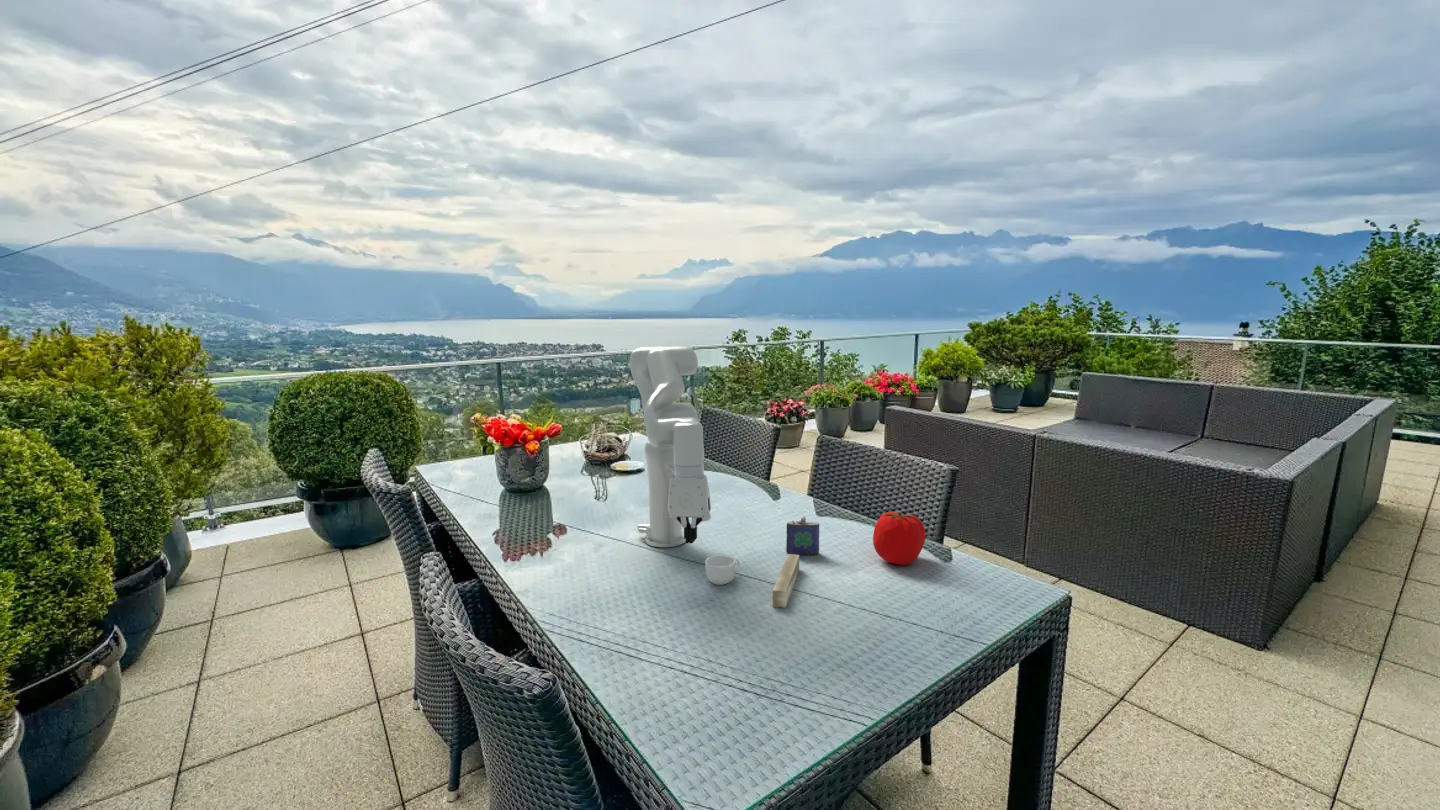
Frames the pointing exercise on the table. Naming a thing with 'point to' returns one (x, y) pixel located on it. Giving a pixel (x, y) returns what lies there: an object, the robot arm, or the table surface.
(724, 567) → the teacup
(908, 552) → the tomato
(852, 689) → the table surface
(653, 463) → the robot arm
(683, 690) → the table surface
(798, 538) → the clover hip flask
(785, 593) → the wooden bar
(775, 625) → the table surface
